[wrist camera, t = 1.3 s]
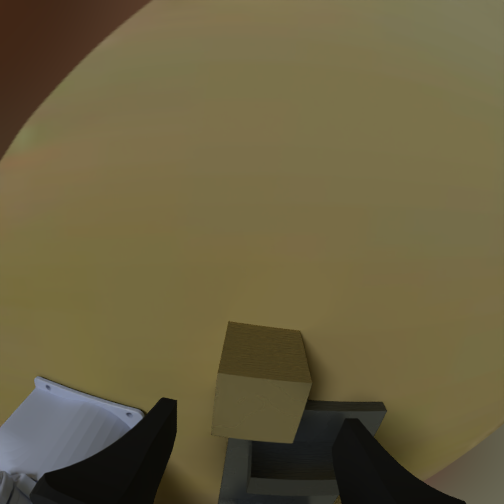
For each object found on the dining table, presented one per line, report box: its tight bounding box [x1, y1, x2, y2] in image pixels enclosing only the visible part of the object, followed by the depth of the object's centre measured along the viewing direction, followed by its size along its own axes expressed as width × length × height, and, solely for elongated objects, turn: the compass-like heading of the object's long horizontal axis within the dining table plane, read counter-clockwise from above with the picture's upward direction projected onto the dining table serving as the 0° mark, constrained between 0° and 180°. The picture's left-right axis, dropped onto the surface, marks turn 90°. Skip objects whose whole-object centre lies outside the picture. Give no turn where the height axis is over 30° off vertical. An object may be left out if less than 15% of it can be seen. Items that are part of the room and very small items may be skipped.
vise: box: [218, 400, 387, 504], centre depth 18 cm, size 10×16×4 cm, turn 172°
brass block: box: [211, 321, 312, 443], centre depth 15 cm, size 4×4×5 cm
